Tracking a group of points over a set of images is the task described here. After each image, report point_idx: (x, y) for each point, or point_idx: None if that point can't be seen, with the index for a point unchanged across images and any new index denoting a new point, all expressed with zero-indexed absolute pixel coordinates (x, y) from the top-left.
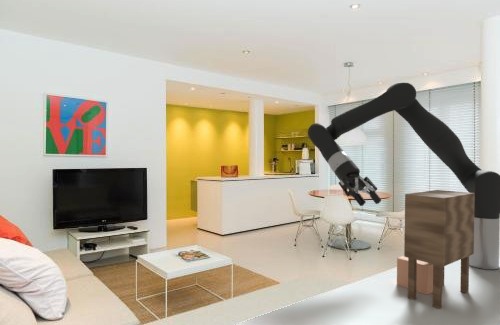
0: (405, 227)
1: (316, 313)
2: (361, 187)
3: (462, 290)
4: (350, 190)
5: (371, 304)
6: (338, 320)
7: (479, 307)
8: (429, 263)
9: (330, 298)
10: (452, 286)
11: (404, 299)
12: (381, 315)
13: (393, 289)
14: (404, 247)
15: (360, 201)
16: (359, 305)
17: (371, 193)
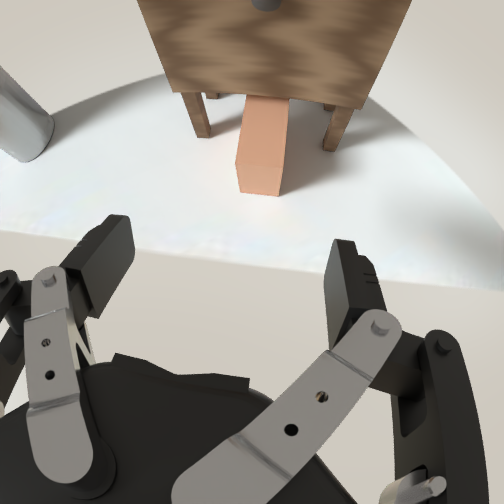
0: (386, 53)
1: (494, 244)
2: (172, 380)
3: (217, 93)
4: (458, 350)
5: (412, 192)
6: (485, 207)
7: None
8: (263, 97)
9: (448, 263)
10: None
11: (343, 156)
12: (430, 164)
13: (311, 191)
14: (367, 94)
15: (369, 269)
16: (431, 207)
17: (83, 301)
